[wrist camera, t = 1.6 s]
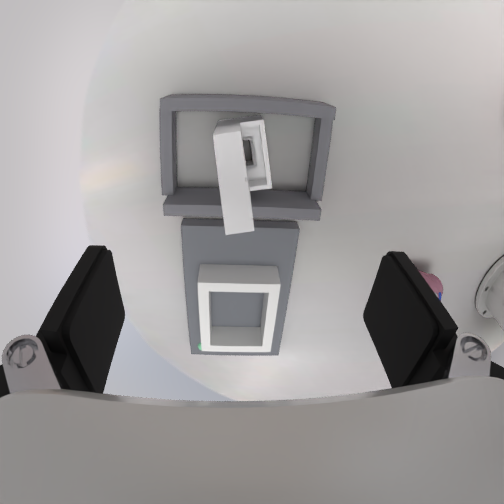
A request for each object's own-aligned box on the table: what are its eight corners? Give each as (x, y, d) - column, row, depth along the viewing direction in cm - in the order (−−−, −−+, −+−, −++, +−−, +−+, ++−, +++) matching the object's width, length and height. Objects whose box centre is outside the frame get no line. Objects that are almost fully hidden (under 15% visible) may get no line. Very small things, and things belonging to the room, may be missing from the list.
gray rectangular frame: (328, 103, 25) (342, 108, 22) (314, 202, 30) (325, 220, 27) (164, 95, 24) (153, 98, 21) (166, 197, 29) (158, 215, 26)
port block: (296, 221, 31) (305, 245, 27) (277, 346, 41) (280, 373, 37) (183, 218, 30) (176, 241, 27) (192, 345, 40) (189, 372, 36)
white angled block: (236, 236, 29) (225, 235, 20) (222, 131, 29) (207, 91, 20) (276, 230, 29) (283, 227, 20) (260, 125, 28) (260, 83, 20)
